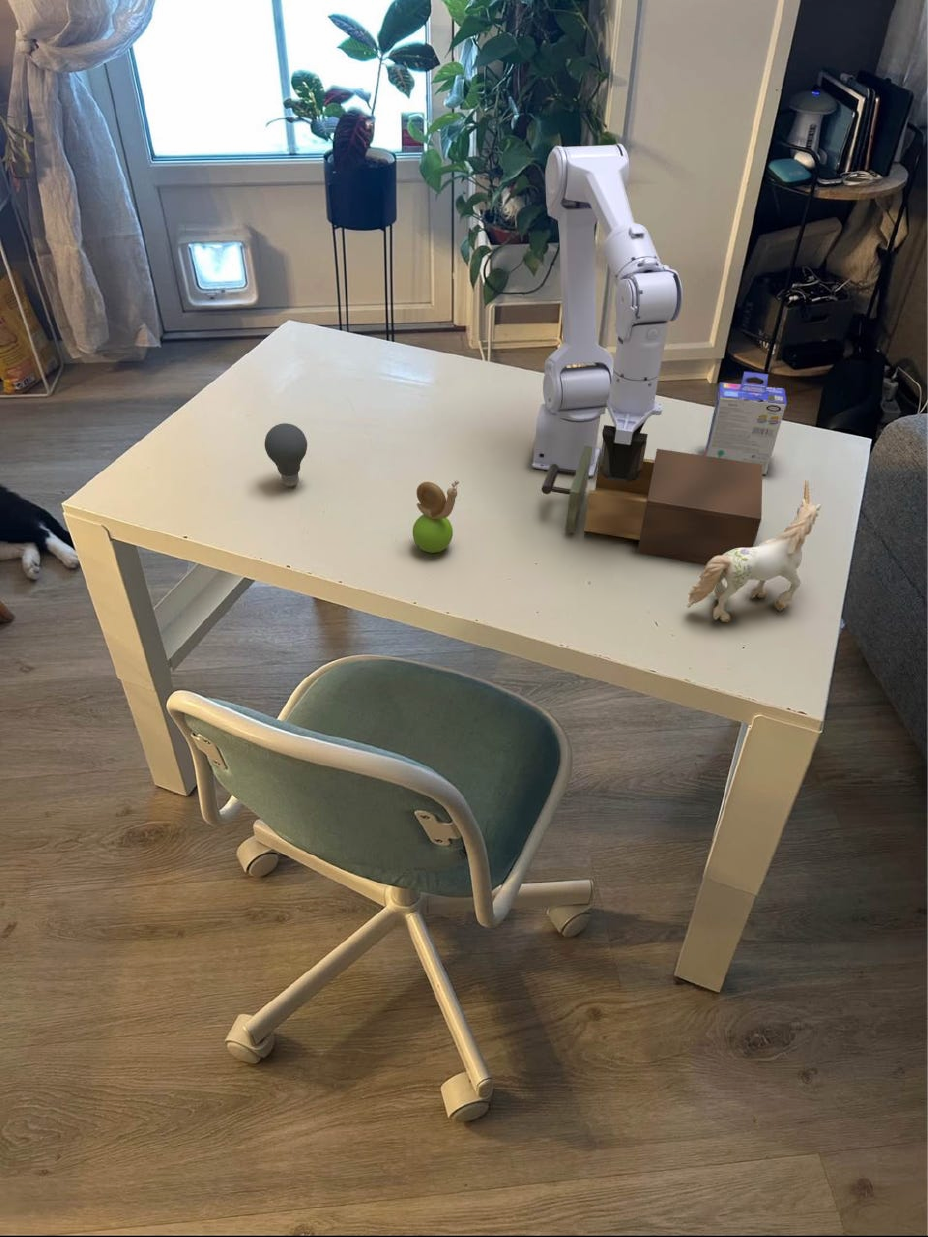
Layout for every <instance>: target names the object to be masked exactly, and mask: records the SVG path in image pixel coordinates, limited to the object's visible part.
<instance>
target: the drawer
mask: <svg viewBox="0 0 928 1237" xmlns="http://www.w3.org/2000/svg"><path fill="white" fill-rule="evenodd" d="M591 455H592V447H591V446H584V448H583V452H582V455H581V458H580V461H579V464H578V468H577V471H576V470H570V469H563V468H559V467H558V465H556V464H551V465H550V467H549V470H547V472H546V475H545V478H544V481H543V483H542V487H541V492H542V493H543V494H544V495H550V494H551V493H556V494H563V495H568V496H569V497H568V505H567V514H566V521H565V528H564V530H565V531H564V532H565V533H569V534H574V533H575V530H576V526H577V523H578V519H579V516H580V513H581V509H582V507H583V502H584V500H585V495H586V492H587V488H588V485H589V484H588V483H589V478H590V477H589V469H590V462H591ZM600 457H601V452H600V453H599V457H598V465H597V472H596V478H595V479H596V480H595V486H594V489H589V492H588V499H587V506H586V511H585V512H586V513H585V520H584V527H583V531H584V532H591V533H596V534H601V535H607V536H614V537H618V538H625V539H632V540H638V541H639V540H640V535H641V530H642V525H643V519H644V514H645V509H646V504H647V498H648V493H649V488H650V483H651V478H652V472H653V467H654V462H655V459H651V458H644V460H643V465H642V471H641V473H640V475H639V477H638V478H637V479H635V480H633V481H630V482H616V481H612V480H609V479H607V478H605V477H604V476H603V475H602V474H601V472H600V466H599V464H600ZM558 474H560V475H567V476H572V477H573V476H574V477H573V481H572V483H571V487H570V488H565V487H560V486H554V485H555V482H556V479H557V477H558Z"/></svg>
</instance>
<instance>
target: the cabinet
mask: <svg viewBox="0 0 928 1237" xmlns="http://www.w3.org/2000/svg"><path fill="white" fill-rule="evenodd" d="M654 460H655V462H654V467H653V472H652V478H651V483H650V488H649V493H648V498H647V504H646V509H645V514H644V519H643V525H642V530H641V535H640V540H638V546H637V551H636V552H637V553H638V554H644V555H650V556H654V557H655V556H656V557H662V558H666V559H673V560H678V561H684V562H690V563H696V564H700V565H707V563H708V562H709V561H710V560H711V559H712V558H714V557H715V556H722V555H723V554H724V553H726V552H728V551H730V550H733V549H736V548H751V547H754V545H755V542H756V538H757V536H758V531H759V529H760V525H761V522H762V512H763V510H762V509H763V508H762V507H763V506H762V505H763V474H762V464H755V463H749V462H742V461H736V460H729V459H722V458H716V457H709V456H704V455H703V454H702V455H701V454H695V453H690V452H682V451H675V450H668V449H662V448H656V452H655V458H654Z"/></svg>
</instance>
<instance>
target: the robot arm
mask: <svg viewBox="0 0 928 1237" xmlns="http://www.w3.org/2000/svg"><path fill="white" fill-rule="evenodd" d="M630 170H631V169H630V158H629V154H628V151H627V149H626V148H625V146H624V145H623V144H622V143H614V144H607V145H605V144H604V145H581V146H561V145H556V146H554V147H553V148H552V150H551V152H550V153H549V154H548V157H547V162H546V166H545V170H544V171H545V173H544V174H545V177H544V178H545V179H544V180H545V197H546V198H545V201H546V208H547V215H548V217H551V218H553V219H554V220H556V221H557V225H558V235H559V264H560V291H561V292H560V293H561V320H562V321H561V323H562V344H560V346H559V347H557V348H556V349H555V351H554V352H552V353H551V354H550V355H549V356H548V358H546V359H545V363H544V377H543V382H542V394H543V400H544V403H542V404H540V407H539V410H538V414H537V415H538V416H537V419H536V427H535V436H534V446H533V448H534V450H533V459H532V465H531V467H532V468H533V469H537V470H545V471H548V470H549V467H550V465H551V464H556V465H558V467H559V468H563V469H570V470H576V471H577V468H578V464H579V461H580V458H581V455H582V452H583V448H584V446H591V447H592V455H591V462H590V469H589V477H588V478H591V477H594V473H595V470H596V466H597V464H598V461H599V457H600V453H601V449H599V448H597V444H598V437H599V430H600V422H601V416H602V415H606V409H607V411H608V414H609V416H610V418H611V420H612V422H613V425H608V424H604V425H603V427H602V428H603V429H602V431H601V432H602V433H601V436H602V441H603V440H604V442H605V444H606V447H607V450H608V456H609V470H610V476H611V477H615V478H622V479H626V477H627V475H628V473H629V471H630V468H631V466H632V463H633V460H634V458H635V456H636V454H637V453H638V451H639V450H640V449H641V448H642V446H643V445H644V444H645V442H646V441H647V440H648V433H645V432H644V433H643V432H642V429H643V427H644V425H645V423H646V422H647V420H648V419H649V418H651V416H661V415H662V412H663V407H664V404H663V403H660V402H656V401H655V400H656V395H657V389H658V383H659V378H660V373H661V367H662V362H663V357H664V351H665V346H666V340H667V334H668V329H669V322H675V321H676V320H677V319H678V317H679V315H680V314H681V310H682V305H683V297H684V296H683V286H682V280H681V278H680V274H679V272H677V270H675V269H673V268H670V267H669V265H668V264H667V265H666V264H663V263H662V262H661V259H660V257H659V254H658V252H657V250H656V247H655V245H654V243H653V240H652V238H651V236H650V233H649V230H648V229H647V227H645V226H644V225H642V224H641V223H637V222H636V223H635V219H634V216H633V212H632V209H631V208H632V207H631V205H630V202H629V198H628V195H627V187H628V184H629V180H630ZM597 222H598V223H599V225H600V226H601V229H602V231H603V232H604V234H605V236H606V239H605V240H604V243H603V247H602V250H603V251H602V252H603V255H604V258H605V261H606V263H607V266H608V268H609V271H610V273H611V276H612V278H613V281H614V284H615V287H616V289H615V292H614V293H615V294H614V295H615V296H614V306H615V308H614V309H615V324H614V327H615V333H616V334H617V340H616V341H617V342H616V348H615V356H614V357H613V355H612V354H611V353H610V352H609V351H608V350H607V349H605V348H604V347H602V346H601V345H599V344H598V341H597V340H598V335H597V334H598V333H597V292H596V290H597V289H596V285H597V284H596V248H595V247H596V246H595V240H596V239H595V225H596V224H597ZM582 364H583V366H575V367H574V365H582ZM586 364H594V365H586ZM571 365H572V367H567V366H571ZM584 365H585V366H584ZM634 431H637V432H639V433H637V432H634Z"/></svg>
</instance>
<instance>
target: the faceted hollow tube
mask: <svg viewBox="0 0 928 1237" xmlns="http://www.w3.org/2000/svg"><path fill="white" fill-rule="evenodd" d="M634 432H637V431H634ZM637 433H639V432H637ZM647 444H648V441H647V440H646V442H645V444H644V445H643V446H642V448H641V449H640V450H639V451H638V453H637V454H636V456H635V458H634V460H633V463H632V466H631V468H630V471H629V473H628V475H627V477H626V479H622V478H615V477H611V476H610V470H609V456H608V450H607V447H606V444H605V442H604V440H603V439H602V444H601V449H600V453H601V457H600V456H599V458H600V464H599V463H598V465H599V466H600V472H601V474H602V475H603V476H604V477H605V478H607V479H609V480H612V481H616V482H630V481H633V480H635V479H637V478H638V477H639V475H640V473H641V471H642V465H643V460H644V459H645V453H646V450H647V449H646V448H647Z"/></svg>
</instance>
